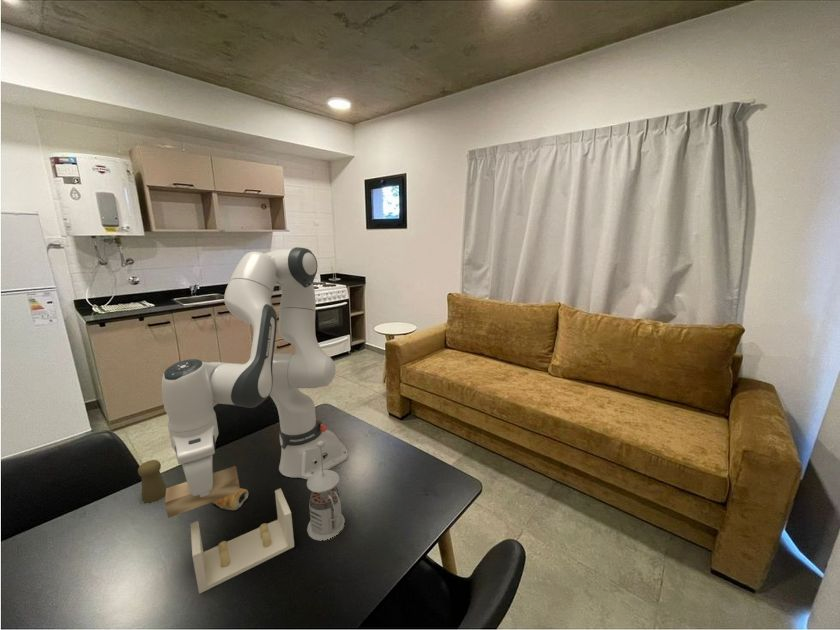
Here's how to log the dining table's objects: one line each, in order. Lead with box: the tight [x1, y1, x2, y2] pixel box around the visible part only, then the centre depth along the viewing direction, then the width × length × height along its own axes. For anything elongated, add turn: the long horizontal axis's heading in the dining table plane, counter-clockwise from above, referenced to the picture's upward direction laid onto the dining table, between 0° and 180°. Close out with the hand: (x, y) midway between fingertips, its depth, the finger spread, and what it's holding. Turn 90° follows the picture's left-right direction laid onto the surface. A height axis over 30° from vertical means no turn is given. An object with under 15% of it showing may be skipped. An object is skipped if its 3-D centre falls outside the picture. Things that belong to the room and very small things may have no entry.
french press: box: [306, 441, 346, 542], centre depth 87 cm, size 10×12×25 cm
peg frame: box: [190, 487, 295, 595], centre depth 82 cm, size 20×10×10 cm, turn 125°
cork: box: [137, 459, 167, 504], centre depth 99 cm, size 6×6×11 cm
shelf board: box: [164, 465, 241, 519], centre depth 79 cm, size 14×5×4 cm, turn 124°
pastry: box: [212, 487, 249, 511], centre depth 98 cm, size 9×7×4 cm
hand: (203, 485), depth 79 cm, fingers closed on shelf board, 5 cm apart
